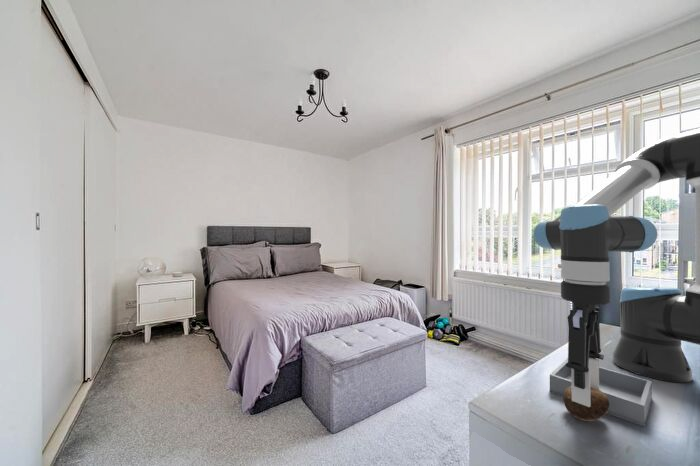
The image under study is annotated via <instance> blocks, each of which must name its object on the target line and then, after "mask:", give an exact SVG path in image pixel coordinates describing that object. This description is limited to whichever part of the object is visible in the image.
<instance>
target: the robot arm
mask: <svg viewBox="0 0 700 466" xmlns="http://www.w3.org/2000/svg"><path fill="white" fill-rule="evenodd" d="M683 178H685V183H686V184H688V185H690V186H691V187H693V188H694V190H695V191H694V192H695V194H694V196H695V201H694V203H695V204H694V205H695V207H694V209H695V214H694V215H695V216H694V217H695V219H694V221H695V222H694V223H695V225H694V226H695V230H694V231H695V235H694V237H695V240H694V241H695V242H694V243H695V246H694V249H695V253H694V257H695V259H694V260H695V265H694V268H695V269H694V271H695V272H694V275H695V277H694V278H695V279H694V280H695V281H694V284H693V285H691V286H689V287H687V288H685V294H683V293H682V291H681V289H680V288H676V287H655V286H654V287H653V286H651V287H650V286H643V287H642V286H640V287H639V286H637V287H636V286H634V287H633V286H631V287H624V288H622V290H621V292H620V297H619V298H620V299H619V306H620V307H619V310H620V311H619V312H620V313H619V314H620V315H619V316H620V317H619V318H620V323H619V324H620V326H619V327H620V336H619V339H618V341H617V343H616V346H615V348H614V350H613V352H612V363H614V364H615V365H616V366H618V367H620V368H621V369H624V370H626V371H628V372H630V373H634V374H638V375H640V376H643V377H647V378H651V379H654V380H660V381H664V382H671V383H672V382H673V383H690V382H692V380H693V371H692V369H691V366H690V364H689V362H688V359H687V357H686V355H685V353H684V351H683V348H682V341H683V342H687V343H691V344H694V345H698V346H700V127H699V128H696V129H692V130H688V131H684V132H681V133H678V134H672V135H669V136H665V137H663V138H661V139H658V140H656V141H654V142H652V143H650V144H648V145H647V146H645V147H643V148H640V150H638V151H637V152H635V153H633V154H631V156H629V157H628V158H626V159H625V160H623V161H622V162H621V163H619V164H618V165H617V167H616V168H615V170H614V173H613V174H612V175H611V176H609V177H608V178H607V179H605V180H604V181H603V182H602V183H600V184H599V185H598V186H596V187H595V188H594V189H593V190H591V191H590V192H589V193H587V195H585V196H584V197H583V198H581V199H580V200H579V201H577V202H576V203H575V204H573V205H571V206H570V205H569V206H566V207H564V208H562V209H561V211H560V215H559V216H558V217H556V218H555V219H553V220H552V219H550V220H549V219H548V220H546V221H545V220H544V221H540V222H539V223H537V224H536V225H535V227H534V230H533V239H534V241H535V243H536V245H538V246H539V247H541V248H542V249H550V250H555V251H556V250H560V263H558V264H557V268H558V269H561V270H560V277H561V278H562V279H563V280H562V281H561V282H560V297H561V298H562V299H563V300H565V301H568V302H572V303H573V306H572V309H570V311H569V314H568V315H567V323H568V336H567V337H568V345H567V358H568V364H567V363H566V367H569V368H571V385H572V401H574V402H577V403H579V404H582V405H585V406H588V407H590V406H591V396H590V387H593V388H596V389H599V367H600V363H599V362H600V361H599V360H602V361H603V360H604V357H605V356H604V354H601V352H602V349H601V333H600V332H601V331H600V311H601V309H600V307H599V306H602V305H603V306H605V305H608V304H610V301H611V299H610V297H611V295H610V294H611V293H610V292H611V291H610V285H608V284H607V283H609V282H610V281H611V276H610V275H611V274H610V269H611V268H610V264H611V263H610V260H609V259H610V257H609V255H610V253H612V252H613V253H621V252H622V253H634V252H642V251H645V250H647V249H649V248H651V247H652V246H653V245H654V244H655V243H656V241H657V239H658V230H657V228H656V226H655V224H653V223H654V222H653V223H652V221H650V220H649V219H647V218H643V217H638V216H633V215H626V216H622V215H621V216H615V215H613V214H615V213H616V212H617V211H618V210H620V209H621V208H622V207H623V206H624V205H626V204H627V203H629V201H631V199H634V197H636V196H637V195H638V194H639V193H640V192H642V191H644V190H645V191H646V190H649V189H651V188H653V187H654V186H655V185H657V184H659V183H662V182H665V181H669V180H676V179H683ZM612 215H613V216H612Z"/></svg>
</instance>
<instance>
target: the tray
mask: <svg viewBox="0 0 700 466" xmlns="http://www.w3.org/2000/svg"><path fill="white" fill-rule="evenodd" d="M566 363H567V364H568V357H567V358H566V359H565V360H564V361H562V363H561V364H560V365H559V366H558V367H556V368H555V369H554V370H553V371H552V372H551V373H550V374H549V392H550V393H551V394H555V395H556V396H557V395H558V396H561V397H563V395H564V392H565V390H566V389H567V388H568V387H570V386H572V385H571V368H569V367H566ZM652 382H653V381H652V380H649V379H644V378H642V377H638V376H634V375H632V374H627V373H623V372H620V371H617V370H613V369H609V368H605V367H602V366H599V390H601V391H602V392H603V393H604V394H606V396H607V397H608V400H609V404H610V405H609V408H608V411H607V414H609V415H612V416H614V417H617V418H620V419H622V420H625V421H628V422H631V423H632V424H633V423H634V424H636V425H638V426H641V427H645V426H646V423H647V419H648V416H649V415H648V414H649V411H650V407H651V404H652V399H653V395H652V394H653V389H652V387H653V385H652V384H653V383H652Z"/></svg>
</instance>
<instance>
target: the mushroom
mask: <svg viewBox="0 0 700 466" xmlns="http://www.w3.org/2000/svg"><path fill="white" fill-rule="evenodd" d="M590 396H591V406H590V407H588V406H585V405H582V404H579V403H577V402H574V401H572V386H570V387H568V388H567V389H566V390H565V392H564V395H563V396H562V401H563V404H564V407H565V409H566V410H567V411H568V412H569V413H570V414H571V416H572V417H575V418H576V419H578V420H580V421H587V422H592V421H597V420H599V419H601V418H603V417H604V416H605V415H607V414H608V413H607V411H608V408H609V405H610V404H609V400H608V397H607V396H606V394H604V393H603V392H602V391H601V390H599V389H596V388H593V387H590Z"/></svg>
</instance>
